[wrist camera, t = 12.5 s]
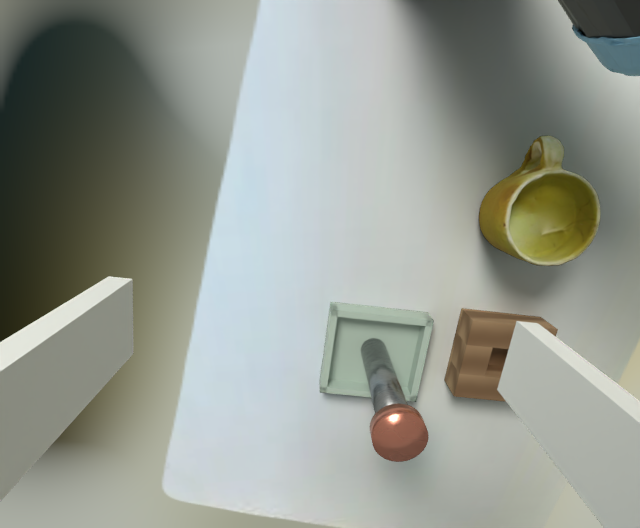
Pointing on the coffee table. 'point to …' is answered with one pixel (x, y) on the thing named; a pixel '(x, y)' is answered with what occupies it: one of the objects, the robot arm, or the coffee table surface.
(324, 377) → the tray
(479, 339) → the socket block
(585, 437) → the robot arm
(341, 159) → the coffee table surface
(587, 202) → the mug
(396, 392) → the pin
